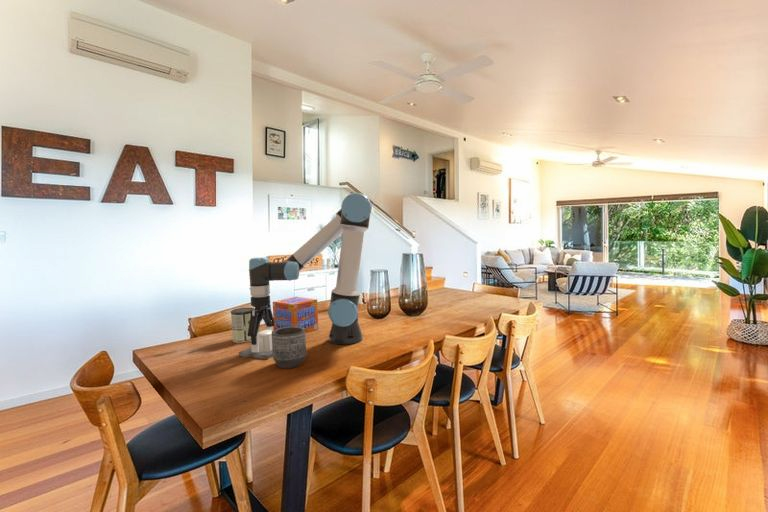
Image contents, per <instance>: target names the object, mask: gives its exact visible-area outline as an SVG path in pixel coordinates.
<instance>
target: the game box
mask: <svg viewBox="0 0 768 512" xmlns="http://www.w3.org/2000/svg"><path fill="white" fill-rule="evenodd" d="M318 308H319V307H318V299H317V298H310V297H302V296H294V297H288V298H283V299H280V300H278V299H277V300H274V301H272V315H273V318H274V324H275V325H274V326H273V331H274V330H276V329H279V328H283V327H302V328H304V329H305V334H308V333H310V332H314V331H317V330H319V312H318V311H319V309H318Z"/></svg>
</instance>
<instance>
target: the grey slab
mask: <svg viewBox="0 0 768 512" xmlns="http://www.w3.org/2000/svg"><path fill="white" fill-rule="evenodd" d="M238 356H239V357H247V358H255V359H263V360H269V359H270V358H273V355H272V350H271V351H267V352H261V353H259V352H258V353H257V352H252V350H251V346H249V347H248V348H246V349H243V350H241V351H239V352H238Z"/></svg>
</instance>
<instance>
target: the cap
mask: <svg viewBox="0 0 768 512" xmlns="http://www.w3.org/2000/svg"><path fill="white" fill-rule="evenodd" d="M272 331H273V329H272V330H266V329H259V330H258V333H257V336H258V340H259V353H261V352H267V351H271V350H272ZM257 353H258V352H257Z"/></svg>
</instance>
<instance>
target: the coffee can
mask: <svg viewBox="0 0 768 512" xmlns="http://www.w3.org/2000/svg"><path fill="white" fill-rule="evenodd" d="M254 310H255V307H240V308H235V309H232V310H230V314H231V315H230V316H231V317H230V318H231V333H232V342H233V343H235V342H236V344H243V342H245V343H251V336H248V329H249V322H250V312H251V311H254Z"/></svg>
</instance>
